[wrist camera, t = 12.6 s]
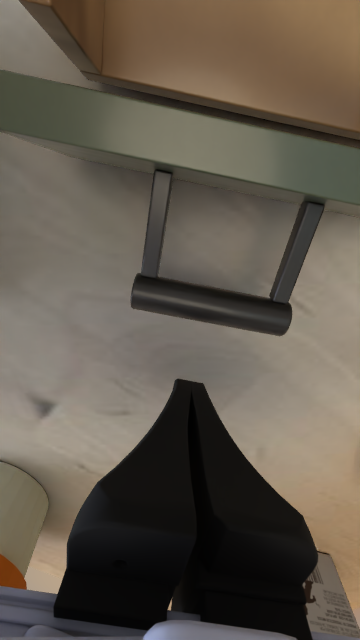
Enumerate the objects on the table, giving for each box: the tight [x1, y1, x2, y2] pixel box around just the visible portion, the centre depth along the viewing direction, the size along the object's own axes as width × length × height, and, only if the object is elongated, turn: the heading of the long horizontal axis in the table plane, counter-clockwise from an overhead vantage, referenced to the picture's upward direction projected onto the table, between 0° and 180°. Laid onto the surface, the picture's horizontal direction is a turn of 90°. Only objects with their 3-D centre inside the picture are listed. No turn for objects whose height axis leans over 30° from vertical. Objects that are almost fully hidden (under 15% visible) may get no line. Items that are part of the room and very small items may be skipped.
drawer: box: [0, 0, 360, 336], centre depth 7 cm, size 18×13×5 cm
